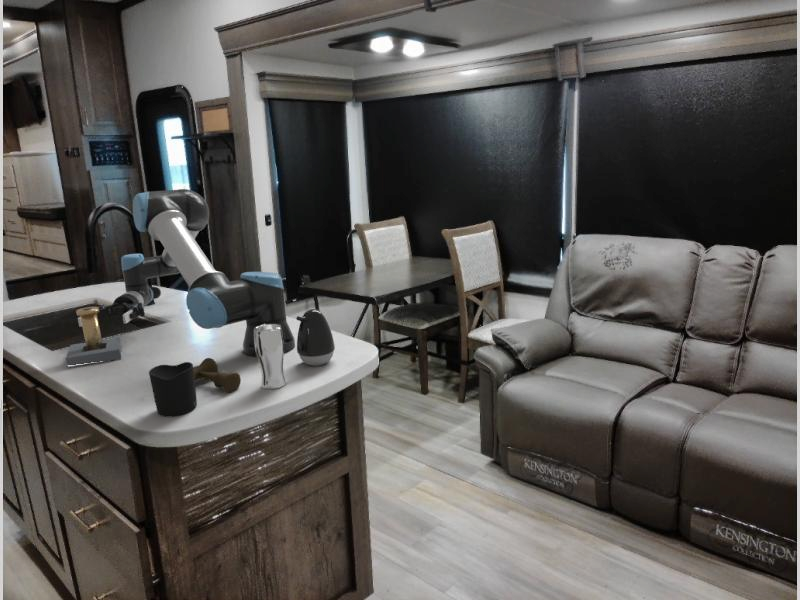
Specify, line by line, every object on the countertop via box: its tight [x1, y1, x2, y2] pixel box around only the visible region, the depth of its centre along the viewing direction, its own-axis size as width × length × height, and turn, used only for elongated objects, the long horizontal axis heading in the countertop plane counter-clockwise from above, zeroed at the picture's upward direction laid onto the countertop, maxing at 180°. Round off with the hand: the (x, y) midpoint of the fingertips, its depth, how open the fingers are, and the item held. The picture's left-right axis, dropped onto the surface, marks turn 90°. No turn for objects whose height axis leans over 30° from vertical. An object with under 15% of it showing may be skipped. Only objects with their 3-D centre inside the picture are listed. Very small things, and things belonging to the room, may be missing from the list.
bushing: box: [75, 306, 103, 351], centre depth 176 cm, size 6×6×15 cm
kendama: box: [193, 357, 242, 393], centre depth 149 cm, size 6×10×20 cm
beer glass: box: [254, 324, 287, 390], centre depth 146 cm, size 7×7×15 cm
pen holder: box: [148, 361, 198, 417], centre depth 135 cm, size 9×9×10 cm
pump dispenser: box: [296, 308, 336, 367], centre depth 160 cm, size 10×10×15 cm
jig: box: [65, 336, 123, 366], centre depth 177 cm, size 14×14×3 cm
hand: (102, 320), depth 183 cm, fingers open, 13 cm apart
